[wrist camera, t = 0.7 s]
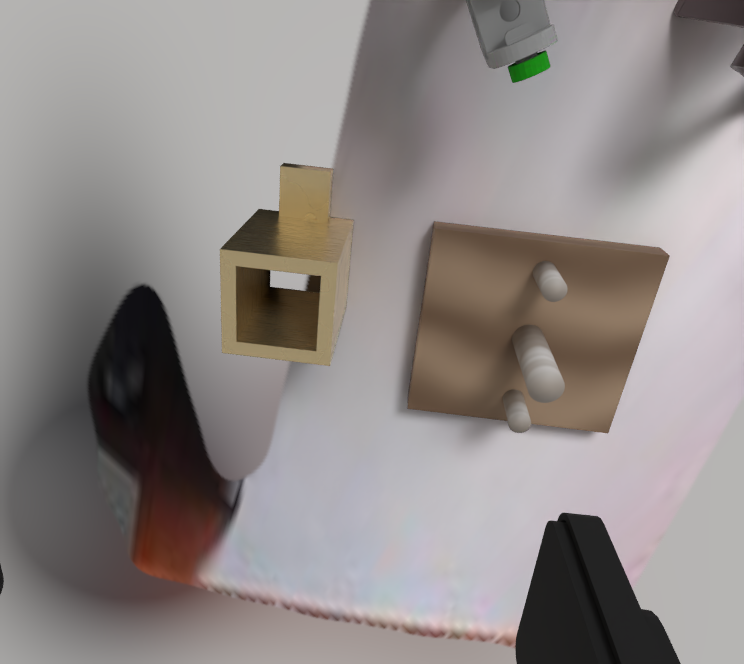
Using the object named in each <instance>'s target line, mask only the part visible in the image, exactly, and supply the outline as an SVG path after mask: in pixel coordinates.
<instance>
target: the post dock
mask: <svg viewBox="0 0 744 664" xmlns="http://www.w3.org/2000/svg"><path fill="white" fill-rule="evenodd" d="M668 259H669V255H668V254H667V253H666V252H665V251H663V250H662V249H661V248H658V247H649V246H641V245H632V244H623V243H615V242H606V241H598V240H589V239H580V238H572V237H563V236H555V235H546V234H537V233H529V232H520V231H512V230H503V229H494V228H486V227H477V226H469V225H460V224H451V223H443V222H434V226H433V233H432V239H431V246H430V253H429V259H428V266H427V273H426V279H425V286H424V293H423V299H422V306H421V313H420V319H419V326H418V333H417V339H416V346H415V353H414V359H413V366H412V373H411V379H410V386H409V393H408V409H415V410H423V411H431V412H439V413H447V414H455V415H463V416H472V417H480V418H488V419H496V420H504V421H508V424H509V427H510V429H511V430H512V431H514V432H516V433H522V432H525V431H527V430H528V429H529V428H530V427H531V424H537V425H545V426H553V427H561V428H569V429H577V430H586V431H594V432H602V433H608V432H609V429H610V426H611V423H612V421H613V418H614V415H615V412H616V409H617V406H618V403H619V400H620V397H621V395H622V392H623V389H624V386H625V383H626V380H627V377H628V374H629V372H630V369H631V366H632V363H633V360H634V357H635V354H636V351H637V349H638V346H639V343H640V340H641V337H642V334H643V331H644V328H645V325H646V323H647V320H648V317H649V314H650V311H651V308H652V305H653V302H654V300H655V297H656V294H657V291H658V288H659V285H660V282H661V279H662V277H663V274H664V271H665V268H666V265H667V262H668Z"/></svg>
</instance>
